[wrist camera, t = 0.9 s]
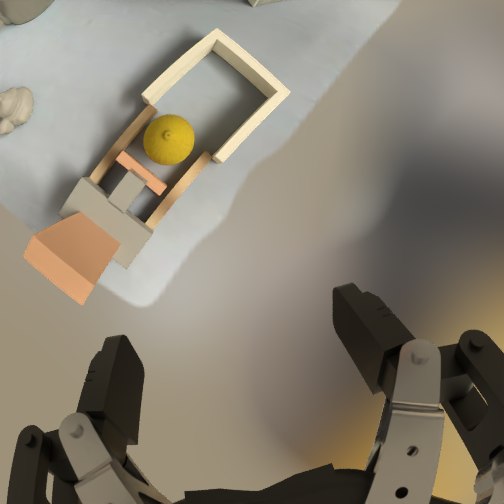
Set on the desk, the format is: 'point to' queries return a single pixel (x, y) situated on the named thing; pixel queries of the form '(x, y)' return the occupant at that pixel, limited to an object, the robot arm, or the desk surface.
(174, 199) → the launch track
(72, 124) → the desk surface
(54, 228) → the plunger
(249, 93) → the desk surface
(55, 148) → the desk surface
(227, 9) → the desk surface
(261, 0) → the hard drive box
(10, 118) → the beige eared figurine
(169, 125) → the lemon
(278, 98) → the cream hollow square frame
